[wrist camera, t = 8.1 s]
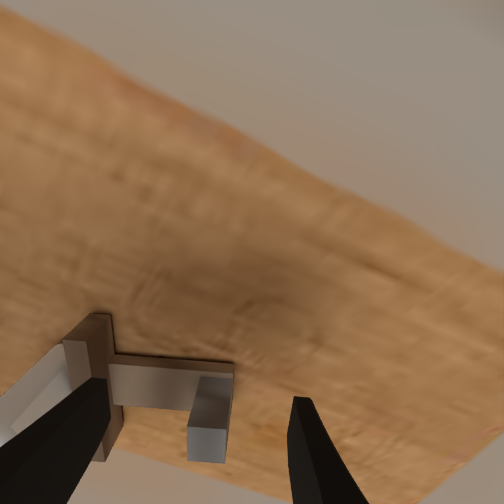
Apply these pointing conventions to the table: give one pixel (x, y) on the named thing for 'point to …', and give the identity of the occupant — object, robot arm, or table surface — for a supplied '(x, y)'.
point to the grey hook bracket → (153, 388)
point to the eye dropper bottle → (34, 393)
